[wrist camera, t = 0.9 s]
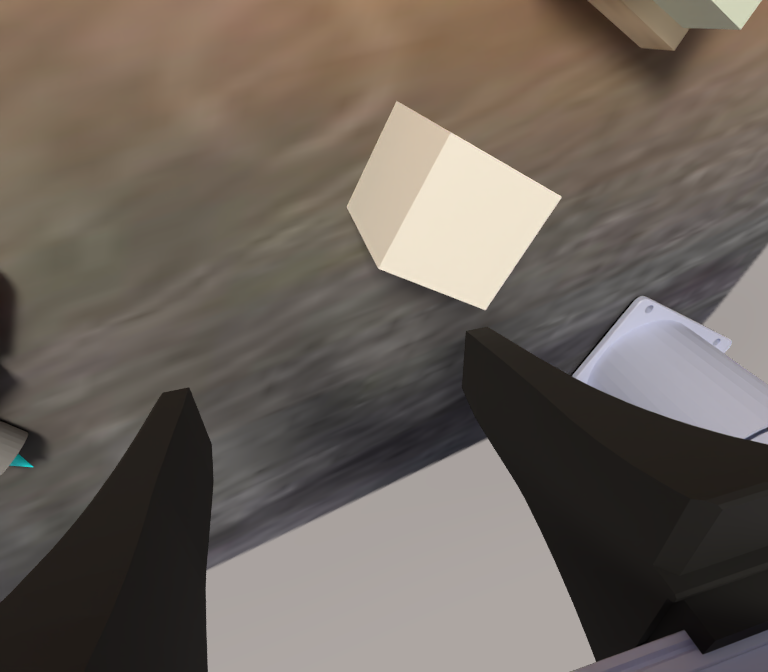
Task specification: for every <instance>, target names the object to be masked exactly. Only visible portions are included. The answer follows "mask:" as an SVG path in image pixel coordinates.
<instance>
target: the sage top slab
mask: <svg viewBox="0 0 768 672" xmlns="http://www.w3.org/2000/svg"><path fill="white" fill-rule="evenodd" d="M653 1H654V2H655V3H656V4H657V5H658V6H660V7H661V8H662V9H663V10H664V11H665V12H666V13H667V14H668V15H669V16H671V17H672V18H673V19H674V20H675V21H676V22H677V23H678V24H679V25H680V26H681V27H683V28H704V29H736V30H741V29H742V27H743V26H744V24H745V23H746V22H747V20H748V19H749V17H750V16H751V15H752V13H753V12H754V10H755V9H756V8H757V6H758V5H759V3H760V2H761V0H653Z"/></svg>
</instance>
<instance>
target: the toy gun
mask: <svg viewBox="0 0 768 672" xmlns="http://www.w3.org/2000/svg"><path fill="white" fill-rule="evenodd" d="M27 437H28V432H26V431H23V430H21V429H18V428H16V427H14V426H11V425H9V424H7V423H4V422H2V421H0V476H1V475H2V473H3V472H4V471H5V470H6V469H7V468H8V466H22V467H33V466H32V465H31V464H30V463H29V462H27V461H26V460H25V459H24V458H23V457H22V456H21V455H19V454H18V453H19V451H20V450H21V448H22V446H23V445H24V443H25V441H26V439H27Z"/></svg>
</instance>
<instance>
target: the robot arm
mask: <svg viewBox="0 0 768 672" xmlns="http://www.w3.org/2000/svg"><path fill="white" fill-rule="evenodd" d="M731 344H732V341H731V340H730V339H729V338H727V337H725V336H723V335H721V334H719V333H717V332H715V331H713V330H711V329H709V328H708V327H706V326H704V325H702V324H700V323H698V322H696V321H694V320H692V319H690V318H688V317H686V316H684V315H682V314H680V313H678V312H676V311H674V310H672V309H670V308H668V307H666V306H664V305H662V304H660V303H658V302H656V301H654V300H652V299H650V298H648V297H646V296H640V297H638V298H636V299H635V300H634V301H633V303H632V304H631V305H630V306H629V307H628V309H627V310H626V311H625V312H624V313H623V315H622V316H621V317H620V318H619V320H618V321H617V322H616V323H615V324H614V326H613V327H612V328H611V329H610V330H609V332H608V333H607V334H606V335H605V336H604V338H603V339H602V340H601V341H600V342H599V344H598V345H597V346H596V347H595V349H594V350H593V351H592V352H591V353H590V355H589V356H588V357H587V358H586V359H585V361H584V362H583V363H582V364H581V365H580V367H579V368H578V369H577V370H576V371H575V373H574V374H573V375H572V376H570V375H568V374H566V373H564V372H563V371H561V370H559V369H557V368H555V367H554V366H552V365H550V364H548V363H547V362H545V361H543V360H541V359H540V358H538V357H536V356H535V355H533V354H531V353H530V352H528V351H526V350H525V349H523V348H521V347H520V346H518V345H516V344H515V343H513V342H512V341H510V340H508V339H507V338H505V337H503V336H502V335H500V334H498V333H497V332H495V331H493V330H491V329H490V328H488V327H484V328H479V329H474V330H469V331H466V338H465V352H464V366H463V379H462V389H463V391H464V393H465V396H466V398H467V400H468V403H469V405H470V407H471V409H472V411H473V413H474V416H475V418H476V419H477V421H478V423H479V424H480V426H481V428H482V429H483V431H484V433H485V434H486V436H487V437H488V439H489V441H490V442H491V444H492V445H493V447H494V449H495V450H496V452H497V453H498V455H499V457H500V458H501V460H502V461H503V463H504V465H505V466H506V468H507V469H508V471H509V473H510V474H511V475H512V477H513V479H514V480H515V482H516V484H517V485H518V487H519V489H520V491H521V492H522V494H523V496H524V498H525V500H526V502H527V504H528V506H529V508H530V510H531V512H532V514H533V516H534V518H535V520H536V522H537V524H538V526H539V528H540V530H541V532H542V534H543V537H544V539H545V541H546V543H547V545H548V547H549V549H550V552H551V554H552V556H553V558H554V560H555V562H556V565H557V567H558V569H559V572H560V574H561V576H562V579H563V581H564V583H565V586H566V588H567V590H568V593H569V595H570V597H571V600H572V602H573V604H574V607H575V609H576V611H577V614H578V617H579V619H580V622H581V624H582V627H583V629H584V631H585V634H586V636H587V639H588V642H589V644H590V647H591V649H592V652H593V654H594V657H595V660H596V662H595V663H593V664H590V665H587V666H585V667H582V668H579V669H576V670H573V671H571V672H768V384H766V383H765V382H764V381H762V380H761V379H760V378H758V377H757V376H755V375H754V374H753V373H751V372H750V371H748V370H747V369H745V368H744V367H743V366H741V365H740V364H738V363H737V362H736V361H734V360H733V359H731V358H730V357H729V356H727V355H726V354H724V353H725V352H726V351H727V350H728V349H729V347H730V346H731ZM212 494H213V460H212V444H211V441H210V439H209V436H208V434H207V431H206V429H205V426H204V424H203V421H202V419H201V416H200V414H199V411H198V409H197V406H196V403H195V401H194V398H193V396H192V393H191V391H190V388H184V389H179V390H174V391H169V392H164V393H162V395H161V396H160V397H159V399H158V401H157V402H156V404H155V406H154V407H153V409H152V411H151V412H150V414H149V416H148V417H147V419H146V421H145V422H144V424H143V426H142V427H141V429H140V431H139V432H138V434H137V435H136V437H135V439H134V440H133V442H132V443H131V445H130V446H129V448H128V450H127V451H126V453H125V454H124V456H123V457H122V459H121V460H120V462H119V463H118V465H117V466H116V468H115V469H114V471H113V472H112V474H111V475H110V476H109V478H108V479H107V481H106V482H105V483H104V485H103V486H102V488H101V489H100V490H99V492H98V493H97V494H96V496H95V497H94V499H93V500H92V501H91V503H90V504H89V505H88V506H87V508H86V509H85V510H84V512H83V513H82V514H81V515H80V517H79V518H78V519H77V520H76V522H75V523H74V524H73V525H72V527H71V528H70V529H69V530H68V531H67V532H66V534H65V535H64V536H63V537H62V538H61V540H60V541H59V542H58V543H57V544H56V545H55V546H54V548H53V549H52V550H51V551H50V552H49V553H48V554H47V555H46V556H45V557H44V558H43V559H42V560H41V561H40V562H39V564H38V565H37V566H36V567H35V568H34V569H33V570H32V571H31V572H30V573H29V574H28V575H27V576H26V577H25V578H24V579H23V580H22V581H21V582H20V584H19V585H18V586H17V587H16V588H15V589H14V590H13V591H12V592H11V593H10V594H9V595H8V596H7V597H6V598H5V599H4V600H3V601H2V602H1V603H0V672H208V666H207V638H206V591H205V589H206V588H205V587H206V566H207V554H208V543H209V531H210V519H211V507H212Z"/></svg>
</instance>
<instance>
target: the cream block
mask: <svg viewBox="0 0 768 672" xmlns="http://www.w3.org/2000/svg"><path fill="white" fill-rule="evenodd" d="M560 199H561V196H559V195H558V194H556V193H554V192H553V191H551V190H549V189H547V188H546V187H544V186H542V185H540V184H539V183H537V182H535V181H534V180H532V179H530V178H528V177H527V176H525V175H523V174H522V173H520V172H518V171H516V170H515V169H513V168H511V167H509V166H508V165H506V164H504V163H503V162H501V161H499V160H497V159H496V158H494V157H492V156H491V155H489V154H487V153H485V152H484V151H482V150H480V149H479V148H477V147H475V146H473V145H472V144H470V143H468V142H466V141H465V140H463V139H461V138H460V137H458V136H456V135H454V134H453V133H451V132H449V131H448V130H446V129H444V128H442V127H441V126H439V125H437V124H435V123H434V122H432V121H430V120H429V119H427V118H425V117H423V116H422V115H420V114H418V113H416V112H415V111H413V110H411V109H410V108H408V107H406V106H404V105H403V104H401V103H399V102H397V101H396V103H395V105H394V108H393V110H392V112H391V114H390V116H389V118H388V120H387V122H386V125H385V127H384V129H383V131H382V133H381V135H380V137H379V139H378V142H377V144H376V146H375V148H374V150H373V152H372V154H371V156H370V158H369V161H368V163H367V165H366V167H365V169H364V171H363V173H362V175H361V178H360V180H359V182H358V184H357V186H356V188H355V190H354V192H353V195H352V197H351V199H350V201H349V203H348V205H347V209H348V211H349V213H350V215H351V217H352V218H353V220H354V222H355V224H356V226H357V228H358V230H359V232H360V234H361V236H362V238H363V240H364V242H365V244H366V246H367V248H368V250H369V252H370V254H371V256H372V258H373V260H374V261H375V263H376V265H377V267H378V269H380V270H383V271H386V272H388V273H391V274H393V275H396V276H398V277H401V278H404V279H406V280H409V281H411V282H414V283H417V284H419V285H422V286H424V287H427V288H429V289H432V290H435V291H437V292H440V293H442V294H445V295H448V296H450V297H453V298H455V299H458V300H460V301H463V302H466V303H468V304H471V305H473V306H476V307H479V308H481V309H484V310H486V309H487V307H488V306H489V304H490V303H491V301H492V300H493V298H494V297H495V295H496V294H497V292H498V291H499V289H500V288H501V286H502V285H503V283H504V282H505V280H506V279H507V278H508V276H509V275H510V273H511V272H512V270H513V269H514V267H515V266H516V264H517V263H518V261H519V260H520V258H521V257H522V255H523V254H524V252H525V251H526V249H527V248H528V246H529V245H530V243H531V242H532V240H533V239H534V237H535V236H536V235H537V233H538V232H539V230H540V229H541V227H542V226H543V224H544V223H545V221H546V220H547V218H548V217H549V215H550V214H551V212H552V211H553V209H554V208H555V206H556V205H557V203H558V202H559V200H560Z"/></svg>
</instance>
